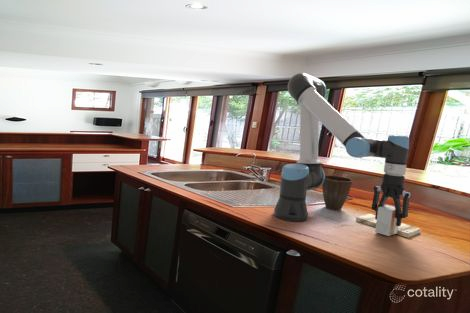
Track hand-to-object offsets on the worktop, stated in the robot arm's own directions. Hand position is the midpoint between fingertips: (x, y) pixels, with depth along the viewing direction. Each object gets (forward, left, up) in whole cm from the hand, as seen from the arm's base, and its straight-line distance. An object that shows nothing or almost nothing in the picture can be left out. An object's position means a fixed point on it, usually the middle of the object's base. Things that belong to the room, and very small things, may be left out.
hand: (386, 230), depth 116 cm
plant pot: (-32, +12, -2) cm, 34 cm away
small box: (0, 0, -1) cm, 1 cm away
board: (-4, +10, -1) cm, 11 cm away
